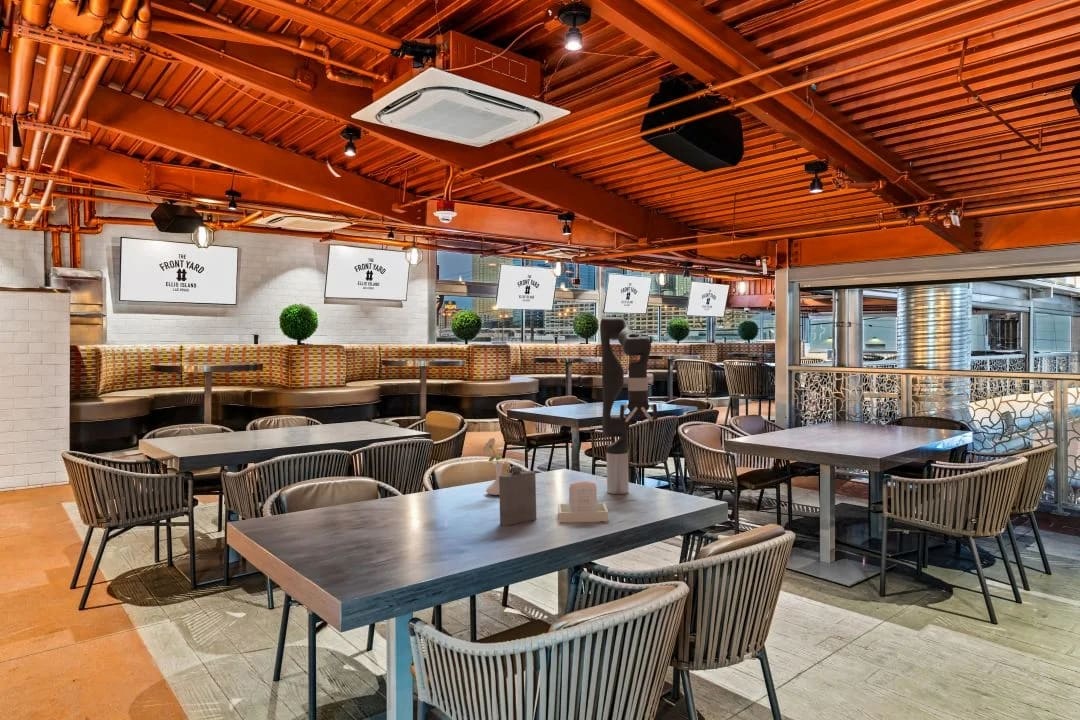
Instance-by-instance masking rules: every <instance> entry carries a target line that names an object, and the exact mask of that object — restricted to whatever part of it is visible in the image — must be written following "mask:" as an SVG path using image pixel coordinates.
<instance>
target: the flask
mask: <svg viewBox="0 0 1080 720" xmlns="http://www.w3.org/2000/svg"><path fill="white" fill-rule="evenodd" d="M536 484H537V483H536V472H535V471H533V470H524V471H523V470H522V467H521V466H517V465H516V466H512V467H511V472H508V473H504V474H503V473H502V474H501V475H500V476H499V495H498V496H499V525H500V526H502V525H504V526H503V527H509V526H508V525H511V526H513V524H514V525H517V524H521V523H520V522H522V523H526V522H525V521H527V522H532V521H531V520H534V521H536V520H537V490H536V489H537V488H536V487H537V485H536ZM516 523H517V524H516Z"/></svg>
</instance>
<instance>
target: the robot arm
mask: <svg viewBox="0 0 1080 720" xmlns="http://www.w3.org/2000/svg"><path fill="white" fill-rule="evenodd" d="M600 320H601V321H600V323H599V324H600V325H599V332H600V345H601V383H602V385H601V386H602V421H601V422H602V424H601V425H602V426H601V428H602V429H601V430H602V434H603V436H604V437H606V438H612V437H613V438H615V437H617V438H618V440H616V441H614V442H612V443H610V444H608V445H607V446H606V447H605V448H606V449H605V451H606V491H607V492H606V493H608V494H612V495H625V494H628V493H629V491H630V490H629V454H628V453H629V443H628V442H629V438H628V437H629V432H630V422H629V421H630V420H631V418H632V417H633V416H635V417H637V416H642V417H643V416H645V417H646V418H647V420H648V421H647V422H648V431H649V432H651V431H652V430H653V429H654V421H656V420H659V419H658V418H659V417H658V407H657V404H656V403H653V404H649V382H648V362H649V359H650V354H651V350H652V343H651V340H650V339H649V338H648V337H643V336H642V337H641V336H640V337H639V336H638V335H637V334H636V333H635V332H634V331H632V329H631V328H630V326H629V324H628V322H627V321H626V319H625V318H623V317H603V318H602V319H600ZM610 340H617V341H618V342H619V344H620V345H621V346H622V348H623V352H624V354H625V355H627V356H629V357H636V356H639V359H638V360H636V361H632V362H630V363H629V364H628V366H627V367H628V379H627V380H628V382H627V387H628V388H627V396H628V397H627V398H628V400H627V401H628V404H620V406H619V414H618V415H617V414H616V415H611V413H612V408H613V405H614V403H615V401H616V400H617V398H618V396H619V395H620V393H621V391H622V389H623V387H624V382H625V379H624V374H625V373H624V368H623V366H622V364H621V363H620V361H619V359H618V358H617V357H616V355H615V353H614V352H613V349H612V347H611V342H610ZM627 409H628V413H627V414H626V415H625V411H626V410H627ZM649 409H650V410H652V415H653V416H652V415H650V414H649Z"/></svg>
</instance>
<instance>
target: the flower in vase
mask: <svg viewBox="0 0 1080 720" xmlns="http://www.w3.org/2000/svg"><path fill="white" fill-rule="evenodd" d="M495 444H496V438H494V437H492V438H489V440H488V441H487V442H486V443H485V445H484V448H482V450H483V453H484V454H488V453H489V452H490V451H492V453H493V455H492V456H491V457H489V459H488V462H492V464H493V466H494V468H495V474H496V475H495V480H494V481H493V482H492V483H491V484H490V485H488V486H487V488H486V490H485V492H486V493H487V494H489V495H490V496H491V495H492V496H499V476H500V475H502V469H503V466H504V464H505V462H504V461H500V460H501V459H502V458H503V455H502V453H499V454H497V456H496V453H495V451H494V449H493V448H494V446H495ZM494 460H495V461H494ZM493 461H494V462H493Z"/></svg>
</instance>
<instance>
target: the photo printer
mask: <svg viewBox="0 0 1080 720" xmlns="http://www.w3.org/2000/svg"><path fill="white" fill-rule="evenodd" d="M568 489H569V491H568V492H569V493H568V494H569V495H568V496H569V497H568V498H569V499H568V500H569V501H568V502H569V503H568V504H569V512H595V511H597V503H598V501H597V499H598V497H597V496H598V495H597V493H598V492H597V491H598V490H597V484H596V482H593V481H589V480H578V481H574V482H571V483H569V488H568Z"/></svg>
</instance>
